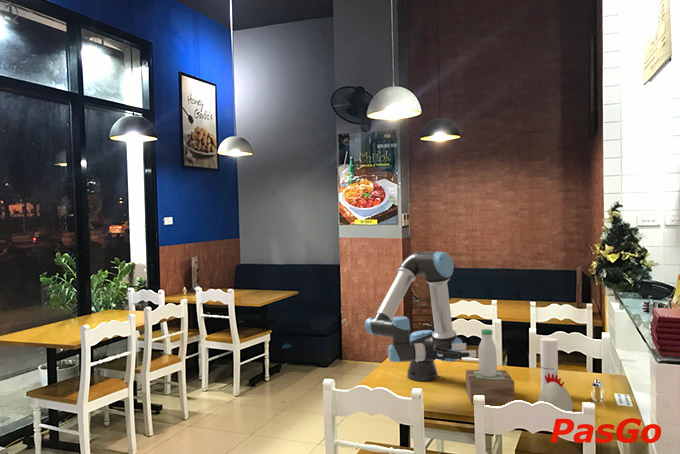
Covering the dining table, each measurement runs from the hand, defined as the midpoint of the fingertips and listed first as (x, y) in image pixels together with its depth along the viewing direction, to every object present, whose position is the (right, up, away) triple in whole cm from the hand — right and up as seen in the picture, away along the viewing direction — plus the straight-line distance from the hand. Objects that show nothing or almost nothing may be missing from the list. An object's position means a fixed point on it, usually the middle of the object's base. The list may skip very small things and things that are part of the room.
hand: (470, 349), depth 241 cm
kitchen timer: (+31, -21, -16) cm, 41 cm away
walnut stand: (+9, -21, +1) cm, 23 cm away
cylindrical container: (+36, -21, +2) cm, 41 cm away
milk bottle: (+8, -11, +1) cm, 14 cm away
